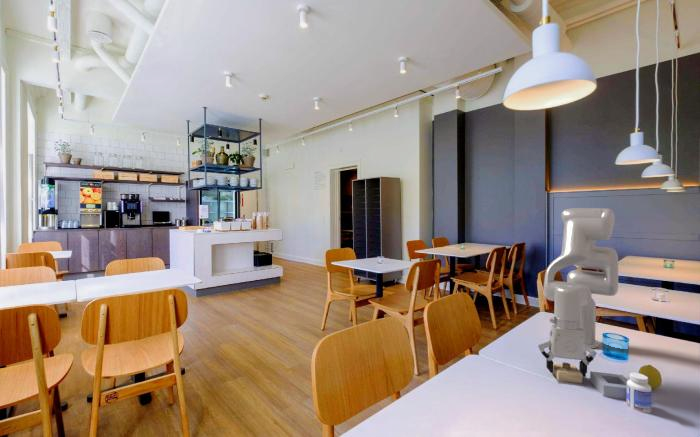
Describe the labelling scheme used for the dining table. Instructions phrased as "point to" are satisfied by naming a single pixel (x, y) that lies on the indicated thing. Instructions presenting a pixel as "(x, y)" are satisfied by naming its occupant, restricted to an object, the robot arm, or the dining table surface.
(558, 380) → the grey rectangular plate
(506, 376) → the dining table surface
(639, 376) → the pill bottle
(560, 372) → the lid
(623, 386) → the grey square container
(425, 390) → the dining table surface
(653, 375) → the lemon
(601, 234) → the robot arm
